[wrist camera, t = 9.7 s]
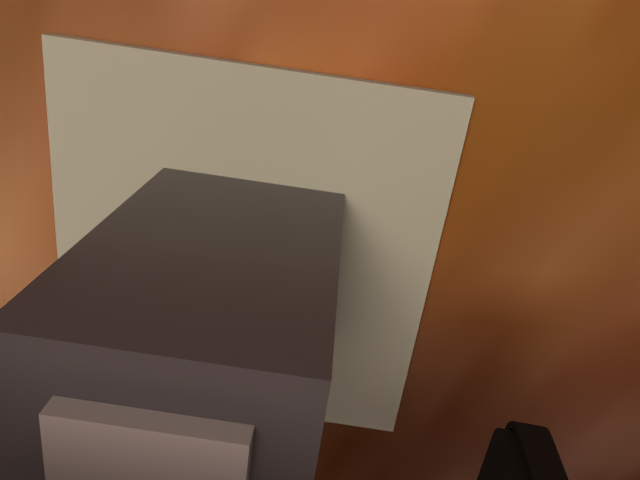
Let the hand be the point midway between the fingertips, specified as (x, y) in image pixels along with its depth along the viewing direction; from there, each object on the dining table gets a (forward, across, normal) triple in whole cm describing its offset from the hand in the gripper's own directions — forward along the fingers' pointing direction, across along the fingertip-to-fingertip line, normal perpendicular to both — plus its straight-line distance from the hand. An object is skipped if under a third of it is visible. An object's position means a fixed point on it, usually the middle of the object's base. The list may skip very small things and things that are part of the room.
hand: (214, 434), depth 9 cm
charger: (+7, +1, 0) cm, 7 cm away
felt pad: (+7, +1, 0) cm, 8 cm away
